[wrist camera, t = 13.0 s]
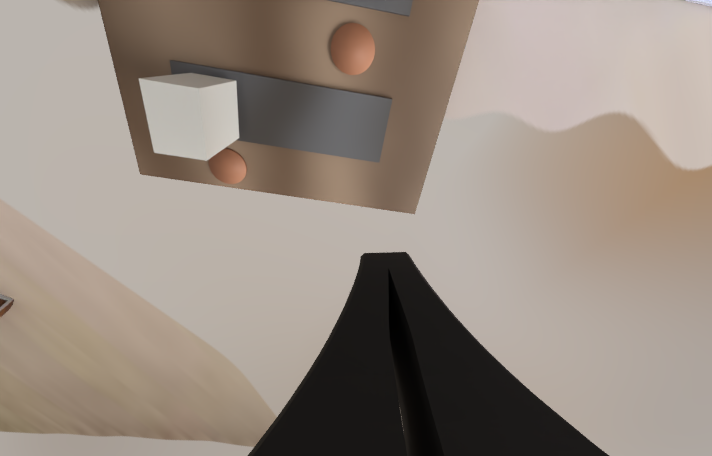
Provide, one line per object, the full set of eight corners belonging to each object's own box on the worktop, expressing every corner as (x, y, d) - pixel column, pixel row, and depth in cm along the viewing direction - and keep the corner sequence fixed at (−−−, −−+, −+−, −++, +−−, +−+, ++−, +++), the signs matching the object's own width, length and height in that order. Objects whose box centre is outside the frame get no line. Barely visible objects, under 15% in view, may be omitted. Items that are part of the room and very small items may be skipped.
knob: (236, 80, 13) (198, 88, 10) (239, 137, 14) (206, 160, 11) (190, 72, 13) (138, 78, 10) (198, 131, 14) (154, 152, 11)
